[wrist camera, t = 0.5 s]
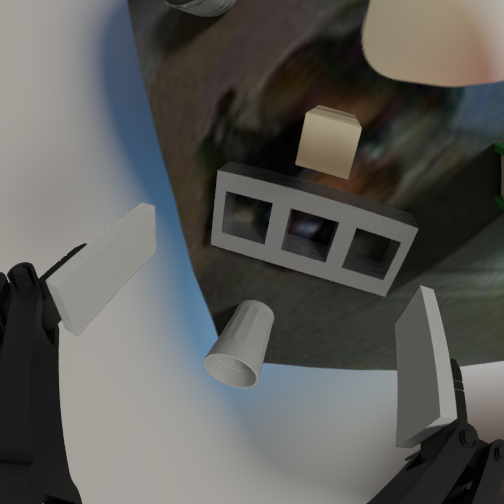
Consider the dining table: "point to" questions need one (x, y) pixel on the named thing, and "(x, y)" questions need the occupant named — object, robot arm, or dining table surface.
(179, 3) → the camera lens
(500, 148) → the hardback book
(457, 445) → the robot arm
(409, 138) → the dining table surface
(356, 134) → the peg
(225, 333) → the cup
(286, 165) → the dining table surface
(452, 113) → the dining table surface
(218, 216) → the grey slotted block
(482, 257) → the dining table surface
